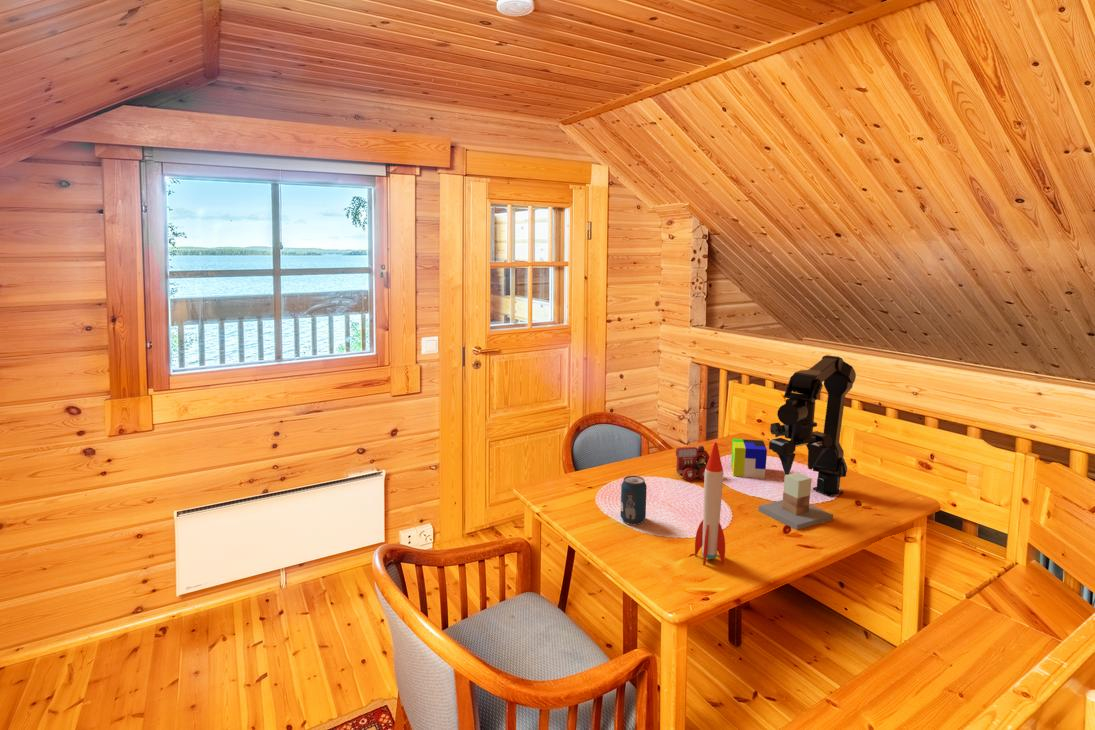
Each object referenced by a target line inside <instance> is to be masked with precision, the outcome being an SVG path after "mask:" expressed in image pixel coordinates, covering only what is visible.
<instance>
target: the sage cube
mask: <svg viewBox="0 0 1095 730" xmlns="http://www.w3.org/2000/svg"><path fill="white" fill-rule="evenodd" d="M783 479H784V481H783V492H784V493H787V494H789V495H791V496H793V497H796V498H801V497H805V496H809V495H810V496H811V494H812V493H811V492H812V481H813V479H812V477H810V476H807V475H804V474H802V473H800V472H794V473H789V475H786V474H784V478H783Z"/></svg>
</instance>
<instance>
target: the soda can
mask: <svg viewBox="0 0 1095 730" xmlns="http://www.w3.org/2000/svg"><path fill="white" fill-rule="evenodd" d="M620 487H621V488H620V517H621V520H622V521H623V522H624V523H625V522H626V523H625V524H627V523H629V524H628V525H633V524H636V525H640V524H642V523H643V522H644V520H645V519H646V515H647V513H646V512H647V484H646V481H645V478H643V477H641V476H640V475H639V476H638V475H628V476H625V477H624V478H623V481H622V483H621V484H620ZM641 522H642V523H641ZM639 523H640V524H639Z"/></svg>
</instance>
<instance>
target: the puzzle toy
mask: <svg viewBox="0 0 1095 730" xmlns="http://www.w3.org/2000/svg"><path fill="white" fill-rule="evenodd" d="M731 444H732V445H731V460H730V467H732V468H731V473H732V472H733V473H732V476H733V477H734V476H743V477H742V478H748V477H753V478H752V479H762V478H765V479H766V469H767V456H768V449H767V447H766V444H765V441H764V440H762V439H761V440H760V439H759V440H758V439H743V438H732V443H731ZM754 477H756V478H754Z"/></svg>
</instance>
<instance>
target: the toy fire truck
mask: <svg viewBox="0 0 1095 730" xmlns="http://www.w3.org/2000/svg"><path fill="white" fill-rule="evenodd" d="M675 455H676V467H675V468H676V473H677V474H679V475H681V476H682V478H683V479H684V480H685V481H688V482H689V481H692V480H694V479H695V477H696V475H697V476H698V478H699V480H700V479H701V480H703V481H704V474H705V468H706V466H707V463H708V460H709V457H710V454H709V453H708V451H706V450H705V447H704V445H699V446H698V447H696V446H683V447H676V449H675Z"/></svg>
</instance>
